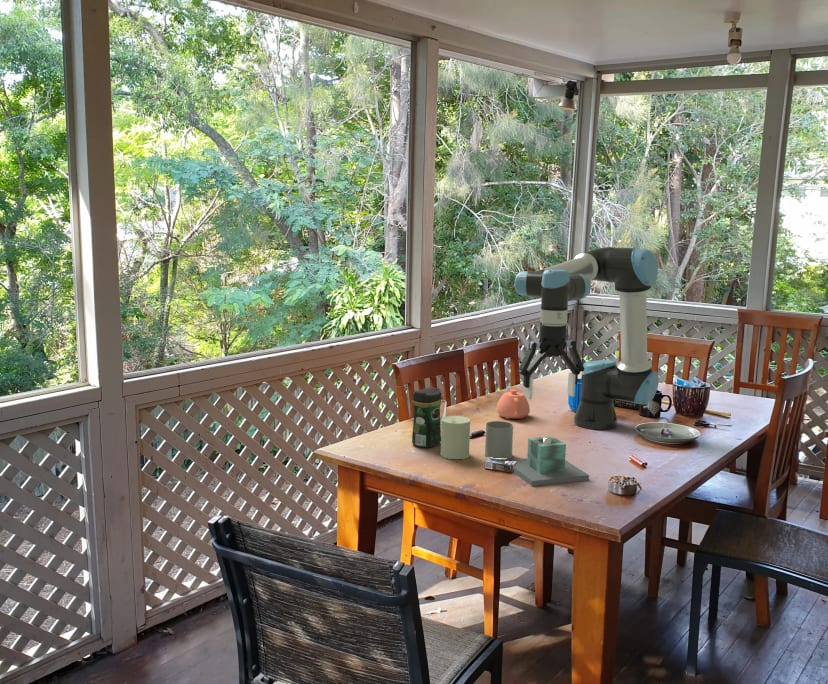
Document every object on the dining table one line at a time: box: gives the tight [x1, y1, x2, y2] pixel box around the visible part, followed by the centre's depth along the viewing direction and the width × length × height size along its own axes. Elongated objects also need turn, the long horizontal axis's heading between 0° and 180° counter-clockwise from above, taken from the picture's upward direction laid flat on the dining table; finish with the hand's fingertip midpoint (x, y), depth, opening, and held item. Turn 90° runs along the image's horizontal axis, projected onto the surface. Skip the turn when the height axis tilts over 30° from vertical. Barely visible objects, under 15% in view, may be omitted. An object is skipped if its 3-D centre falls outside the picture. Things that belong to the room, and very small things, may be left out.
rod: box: [542, 436, 552, 444], centre depth 223 cm, size 2×2×9 cm
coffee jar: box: [411, 386, 442, 448], centre depth 248 cm, size 10×8×19 cm
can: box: [439, 415, 471, 460], centre depth 238 cm, size 9×9×12 cm
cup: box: [484, 420, 514, 460], centre depth 238 cm, size 8×8×10 cm
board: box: [513, 458, 590, 487], centre depth 224 cm, size 18×18×2 cm
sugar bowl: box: [495, 389, 531, 420], centre depth 283 cm, size 12×14×10 cm
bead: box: [526, 435, 567, 473], centre depth 223 cm, size 8×8×8 cm
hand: (550, 397), depth 221 cm, fingers open, 13 cm apart
